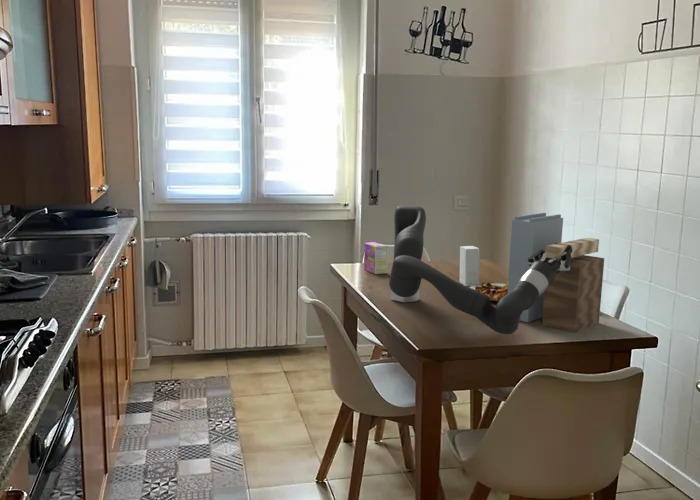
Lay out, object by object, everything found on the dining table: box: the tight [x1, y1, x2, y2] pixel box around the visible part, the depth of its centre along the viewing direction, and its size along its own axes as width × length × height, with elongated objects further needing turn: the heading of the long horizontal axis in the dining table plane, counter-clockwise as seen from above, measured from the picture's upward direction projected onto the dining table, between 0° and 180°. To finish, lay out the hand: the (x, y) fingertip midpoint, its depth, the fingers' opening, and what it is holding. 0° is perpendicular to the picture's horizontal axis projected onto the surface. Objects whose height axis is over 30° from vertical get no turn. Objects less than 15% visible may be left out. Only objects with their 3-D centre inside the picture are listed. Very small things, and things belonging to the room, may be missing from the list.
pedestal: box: [507, 212, 564, 323], centre depth 228 cm, size 18×8×33 cm, turn 135°
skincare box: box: [459, 245, 481, 287], centre depth 273 cm, size 8×6×15 cm
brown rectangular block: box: [545, 237, 600, 261], centre depth 215 cm, size 26×4×4 cm, turn 135°
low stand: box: [541, 254, 605, 333], centre depth 219 cm, size 16×11×21 cm
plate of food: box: [468, 281, 508, 303], centre depth 256 cm, size 28×28×6 cm
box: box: [363, 241, 388, 275], centre depth 294 cm, size 10×6×12 cm, turn 25°
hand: (563, 246), depth 210 cm, fingers closed on brown rectangular block, 3 cm apart
